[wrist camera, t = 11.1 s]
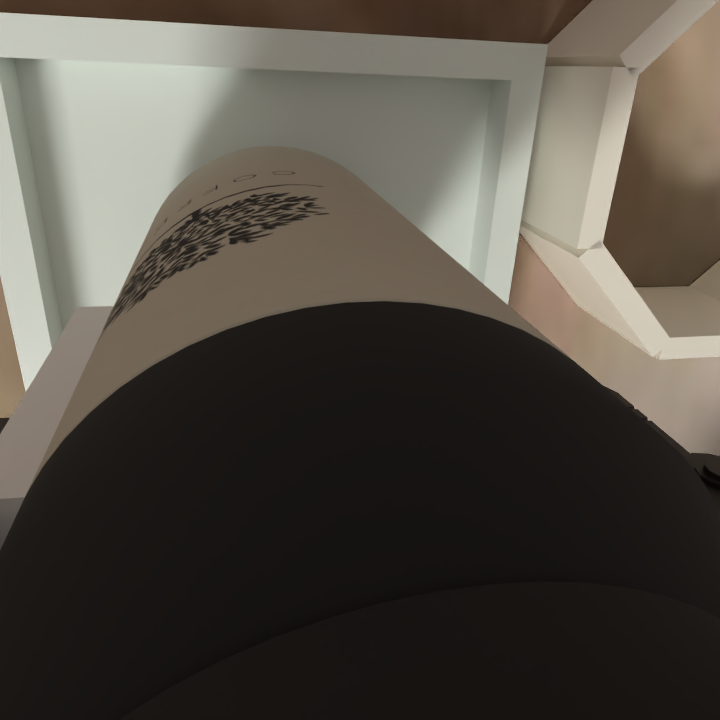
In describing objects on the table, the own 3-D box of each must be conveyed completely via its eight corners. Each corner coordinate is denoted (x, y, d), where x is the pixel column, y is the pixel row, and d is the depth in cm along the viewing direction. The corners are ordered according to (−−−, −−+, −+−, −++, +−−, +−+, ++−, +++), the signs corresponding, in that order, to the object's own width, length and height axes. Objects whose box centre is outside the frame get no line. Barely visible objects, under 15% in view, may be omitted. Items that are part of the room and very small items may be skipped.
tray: (512, 46, 20) (548, 44, 18) (463, 413, 26) (486, 445, 24) (-22, 16, 17) (-58, 9, 15) (62, 440, 23) (45, 480, 21)
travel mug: (416, 352, 21) (961, 1172, 6) (194, 415, 21) (95, 1544, 5) (372, 115, 18) (1602, 540, 2) (101, 183, 17) (-1476, 1681, 1)
